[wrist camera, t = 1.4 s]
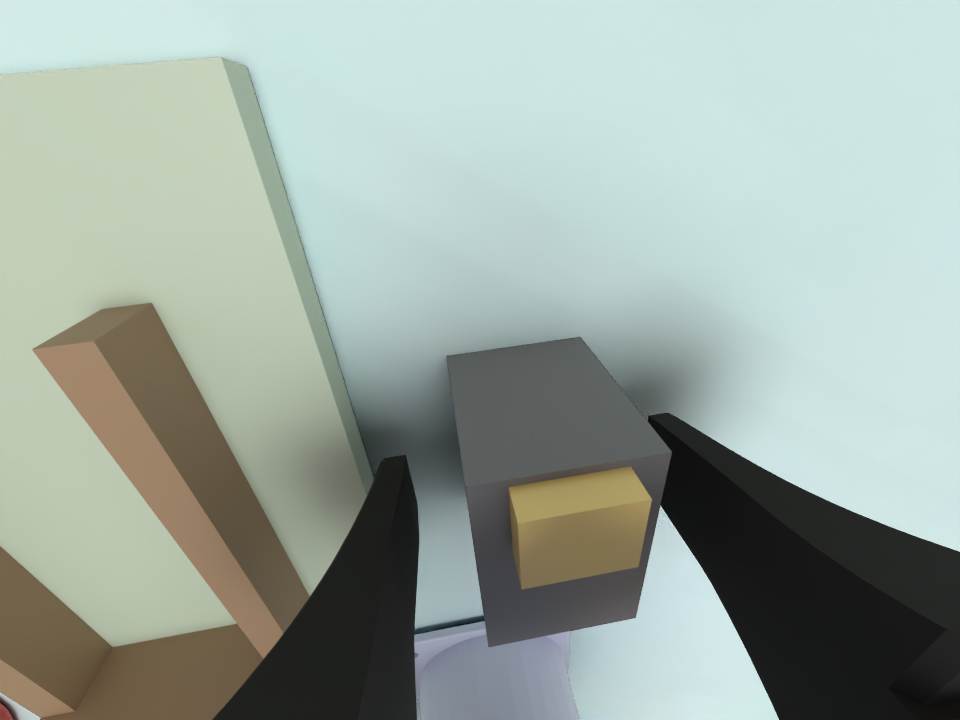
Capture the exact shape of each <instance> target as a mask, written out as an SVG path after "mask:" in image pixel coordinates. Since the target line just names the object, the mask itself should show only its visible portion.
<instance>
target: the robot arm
mask: <svg viewBox="0 0 960 720" xmlns="http://www.w3.org/2000/svg"><path fill="white" fill-rule="evenodd" d="M648 423H649V424H650V425H651V426H652V428H653V429H654V430H655V431H656V433H657V434H658V435H659V436H660V438H661V439H662V440H663V441H664V443H665V444H666V445H667V446H668V448H669V449H670V450H671V451H672V454H671V459H670V463H669V468H668V472H667V477H666V481H665V486H664V491H663V495H662V500H661V504H660V505H661V506H662V508H663V509H664V511H665V513H666V514H667V516H668V517H669V519H670V520H671V522H672V523H673V525H674V526H675V528H676V529H677V531H678V532H679V534H680V535H681V537H682V538H683V540H684V541H685V543H686V544H687V546H688V547H689V549H690V550H691V552H692V553H693V555H694V556H695V558H696V559H697V561H698V562H699V564H700V565H701V567H702V569H703V570H704V572H705V574H706V575H707V577H708V578H709V580H710V582H711V583H712V585H713V587H714V589H715V591H716V593H717V594H718V596H719V598H720V600H721V602H722V604H723V606H724V607H725V609H726V611H727V613H728V615H729V617H730V619H731V621H732V623H733V625H734V627H735V628H736V630H737V632H738V634H739V636H740V638H741V640H742V642H743V644H744V646H745V648H746V650H747V652H748V654H749V656H750V658H751V660H752V662H753V664H754V666H755V669H756V671H757V673H758V675H759V677H760V679H761V681H762V683H763V685H764V688H765V690H766V692H767V694H768V696H769V698H770V700H771V702H772V704H773V707H774V709H775V711H776V713H777V716H778V718H779V720H960V552H959V551H956V550H953V549H950V548H947V547H944V546H941V545H938V544H935V543H933V542H930V541H927V540H924V539H921V538H918V537H916V536H913V535H910V534H907V533H905V532H902V531H899V530H897V529H894V528H891V527H889V526H886V525H884V524H881V523H879V522H876V521H874V520H872V519H869V518H867V517H864V516H862V515H859V514H857V513H854V512H852V511H850V510H847V509H845V508H843V507H840V506H838V505H836V504H833V503H831V502H829V501H827V500H825V499H823V498H821V497H818V496H816V495H814V494H812V493H810V492H808V491H806V490H804V489H801V488H799V487H797V486H795V485H793V484H791V483H789V482H787V481H786V480H784V479H782V478H780V477H778V476H776V475H774V474H772V473H771V472H769V471H767V470H765V469H763V468H761V467H759V466H758V465H756V464H754V463H752V462H751V461H749V460H747V459H745V458H743V457H742V456H740V455H738V454H737V453H735V452H733V451H732V450H730V449H728V448H726V447H725V446H723V445H721V444H720V443H718V442H716V441H715V440H713V439H712V438H710V437H708V436H707V435H705V434H703V433H702V432H700V431H698V430H697V429H695V428H694V427H692V426H690V425H689V424H687V423H685V422H684V421H682V420H680V419H679V418H677V417H675V416H673V415H672V414H670V413H663V414H657V415H651V416H649V417H648ZM418 553H419V524H418V506H417V500H416V496H415V492H414V488H413V484H412V480H411V475H410V471H409V467H408V463H407V459H406V455H402V456H396V457H390V458H384V459H383V460H382V461H381V463H380V466H379V468H378V471H377V473H376V476H375V478H374V481H373V483H372V486H371V488H370V490H369V492H368V495H367V497H366V499H365V501H364V503H363V505H362V507H361V509H360V511H359V513H358V515H357V517H356V519H355V522H354V524H353V525H352V527H351V529H350V531H349V533H348V535H347V537H346V538H345V540H344V542H343V544H342V545H341V547H340V549H339V551H338V553H337V554H336V556H335V558H334V560H333V561H332V563H331V565H330V566H329V568H328V569H327V571H326V573H325V574H324V576H323V577H322V579H321V581H320V582H319V584H318V585H317V587H316V588H315V590H314V591H313V593H312V594H311V596H310V597H309V599H308V600H307V602H306V603H305V604H304V606H303V607H302V609H301V610H300V611H299V613H298V614H297V616H296V617H295V618H294V620H293V621H292V623H291V624H290V625H289V627H288V628H287V629H286V631H285V632H284V633H283V635H282V636H281V637H280V639H279V640H278V641H277V643H276V644H275V645H274V646H273V648H272V649H271V650H270V651H269V653H268V654H267V655H266V656H265V658H264V659H263V660H262V661H261V662H260V664H259V665H258V666H257V667H256V669H255V670H254V671H253V672H252V674H251V675H250V676H249V677H248V678H247V680H246V681H245V682H244V683H243V685H242V686H241V687H240V688H239V689H238V691H237V692H236V693H235V694H234V695H233V696H232V698H231V699H230V700H229V701H228V702H227V703H226V704H225V706H224V707H223V708H222V709H221V710H220V711H219V712H218V713H217V714H216V716H215V717H214V718H213V719H212V720H417V711H416V696H417V698H418V701H419V703H420V720H580V718H579V714H578V710H577V707H576V703H575V700H574V696H573V693H572V689H571V685H570V682H569V678H568V659H569V643H570V631H568V632H563V633H558V634H553V635H548V636H543V637H538V638H533V639H528V640H523V641H518V642H514V643H509V644H504V645H499V646H494V647H489V648H488V641H487V634H486V627H485V621H482V622H477V623H472V624H467V625H462V626H457V627H451V628H446V629H441V630H436V631H431V632H426V633H421V634H416V635H414V630H415V607H416V589H417V572H418Z"/></svg>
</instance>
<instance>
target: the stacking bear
mask: <svg viewBox="0 0 960 720" xmlns="http://www.w3.org/2000/svg"><path fill="white" fill-rule="evenodd" d="M0 720H13V718H12V716H11V714H10V712H9V711H8V710H7V709H6V708H5V707H4V706H3V705H2V704H1V703H0Z"/></svg>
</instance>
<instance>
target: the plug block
mask: <svg viewBox="0 0 960 720" xmlns="http://www.w3.org/2000/svg"><path fill="white" fill-rule="evenodd" d="M447 363H448V370H449V377H450V384H451V391H452V398H453V405H454V412H455V419H456V426H457V433H458V440H459V447H460V454H461V462H462V469H463V476H464V483H465V490H466V496H467V503H468V510H469V517H470V524H471V531H472V538H473V545H474V551H475V558H476V565H477V572H478V579H479V586H480V593H481V599H482V606H483V613H484V620H485V627H486V634H487V641H488V648H489V647H494V646H499V645H504V644H509V643H514V642H518V641H523V640H528V639H533V638H538V637H543V636H548V635H553V634H558V633H563V632H568V631H573V630H578V629H583V628H587V627H592V626H597V625H602V624H607V623H612V622H617V621H622V620H627V619H632V618H636V614H637V609H638V605H639V600H640V596H641V591H642V586H643V582H644V577H645V573H646V568H647V564H648V559H649V555H650V550H651V545H652V541H653V536H654V532H655V527H656V523H657V518H658V513H659V509H660V504H661V500H662V495H663V491H664V486H665V481H666V477H667V472H668V468H669V463H670V459H671V454H672V451H671V450H670V449H669V448H668V446H667V445H666V444H665V443H664V441H663V440H662V439H661V438H660V436H659V435H658V434H657V433H656V431H655V430H654V429H653V428H652V426H651V425H650V424H649V423H648V421H647V420H646V419H645V418H644V416H643V415H642V414H641V412H640V411H639V410H638V409H637V407H636V406H635V405H634V404H633V402H632V401H631V400H630V399H629V397H628V396H627V395H626V394H625V392H624V391H623V390H622V389H621V387H620V386H619V385H618V384H617V382H616V381H615V380H614V379H613V377H612V376H611V375H610V374H609V372H608V371H607V370H606V369H605V367H604V366H603V365H602V364H601V362H600V361H599V360H598V359H597V357H596V356H595V355H594V354H593V352H592V351H591V350H590V349H589V347H588V346H587V345H586V343H585V342H584V341H583V340H582V338H581V337H576V338H569V339H562V340H555V341H548V342H541V343H534V344H527V345H520V346H513V347H506V348H499V349H492V350H485V351H478V352H471V353H464V354H457V355H450V356H447Z"/></svg>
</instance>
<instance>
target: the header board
mask: <svg viewBox="0 0 960 720" xmlns="http://www.w3.org/2000/svg"><path fill="white" fill-rule="evenodd" d="M373 481H374V478H373V474H372V471H371V468H370V465H369V461H368V458H367V455H366V452H365V448H364V445H363V442H362V439H361V435H360V432H359V429H358V426H357V423H356V419H355V416H354V413H353V410H352V406H351V403H350V400H349V397H348V393H347V390H346V387H345V384H344V380H343V377H342V374H341V371H340V367H339V364H338V361H337V358H336V354H335V351H334V348H333V345H332V341H331V338H330V335H329V332H328V328H327V325H326V322H325V319H324V315H323V312H322V309H321V306H320V302H319V299H318V296H317V293H316V290H315V286H314V283H313V280H312V277H311V273H310V270H309V267H308V264H307V260H306V257H305V254H304V251H303V247H302V244H301V241H300V238H299V234H298V231H297V228H296V225H295V221H294V218H293V215H292V212H291V208H290V205H289V202H288V199H287V195H286V192H285V189H284V186H283V182H282V179H281V176H280V173H279V169H278V166H277V163H276V160H275V156H274V153H273V150H272V147H271V144H270V140H269V137H268V134H267V131H266V127H265V124H264V121H263V118H262V114H261V111H260V108H259V105H258V101H257V98H256V95H255V92H254V88H253V85H252V82H251V79H250V75H249V72H248V69H247V67H246V66H244V65H241V64H238V63H236V62H233V61H230V60H228V59H225V58H222V57H215V58H203V59H190V60H178V61H165V62H152V63H140V64H127V65H115V66H102V67H89V68H77V69H64V70H52V71H39V72H27V73H14V74H1V75H0V692H1V693H2V694H4V695H5V696H7V697H9V698H10V699H12V700H13V701H15V702H17V703H18V704H20V705H21V706H23V707H25V708H26V709H28V710H29V711H31V712H32V713H34V714H36V715H37V716H39V717H40V718H41V719H40V720H212V719H213V718H214V717H215V716H216V714H217V713H218V712H219V711H220V710H221V709H222V708H223V707H224V706H225V704H226V703H227V702H228V701H229V700H230V699H231V698H232V696H233V695H234V694H235V693H236V692H237V691H238V689H239V688H240V687H241V686H242V685H243V683H244V682H245V681H246V680H247V678H248V677H249V676H250V675H251V674H252V672H253V671H254V670H255V669H256V667H257V666H258V665H259V664H260V662H261V661H262V660H263V659H264V658H265V656H266V655H267V654H268V653H269V651H270V650H271V649H272V648H273V646H274V645H275V644H276V643H277V641H278V640H279V639H280V637H281V636H282V635H283V633H284V632H285V631H286V629H287V628H288V627H289V625H290V624H291V623H292V621H293V620H294V618H295V617H296V616H297V614H298V613H299V611H300V610H301V609H302V607H303V606H304V604H305V603H306V602H307V600H308V599H309V597H310V596H311V594H312V593H313V591H314V590H315V588H316V587H317V585H318V584H319V582H320V581H321V579H322V577H323V576H324V574H325V573H326V571H327V569H328V568H329V566H330V565H331V563H332V561H333V560H334V558H335V556H336V554H337V553H338V551H339V549H340V547H341V545H342V544H343V542H344V540H345V538H346V537H347V535H348V533H349V531H350V529H351V527H352V525H353V524H354V522H355V519H356V517H357V515H358V513H359V511H360V509H361V507H362V505H363V503H364V501H365V499H366V497H367V495H368V492H369V490H370V488H371V486H372V483H373Z"/></svg>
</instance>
